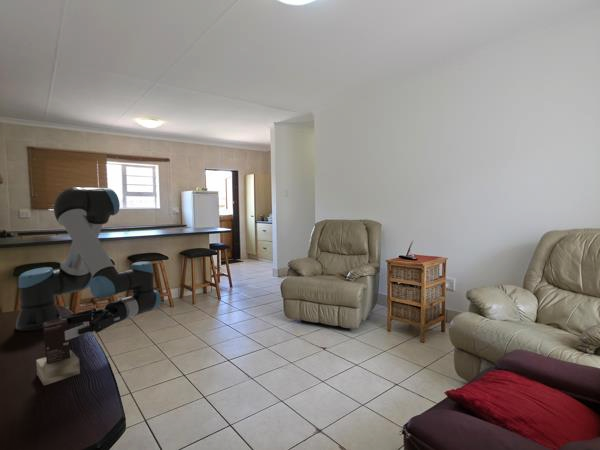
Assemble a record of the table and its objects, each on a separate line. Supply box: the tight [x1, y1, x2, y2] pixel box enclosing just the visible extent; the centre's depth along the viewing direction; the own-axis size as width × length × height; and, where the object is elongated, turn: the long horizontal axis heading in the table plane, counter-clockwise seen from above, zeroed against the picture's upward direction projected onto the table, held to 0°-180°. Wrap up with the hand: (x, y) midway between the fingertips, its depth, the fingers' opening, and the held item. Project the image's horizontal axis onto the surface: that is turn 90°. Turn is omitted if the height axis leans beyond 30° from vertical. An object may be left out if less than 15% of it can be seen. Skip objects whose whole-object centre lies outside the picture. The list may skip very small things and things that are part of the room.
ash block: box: [35, 349, 81, 386], centre depth 103 cm, size 9×9×5 cm
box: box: [42, 317, 71, 364], centre depth 102 cm, size 6×4×12 cm
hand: (54, 332), depth 101 cm, fingers open, 10 cm apart
